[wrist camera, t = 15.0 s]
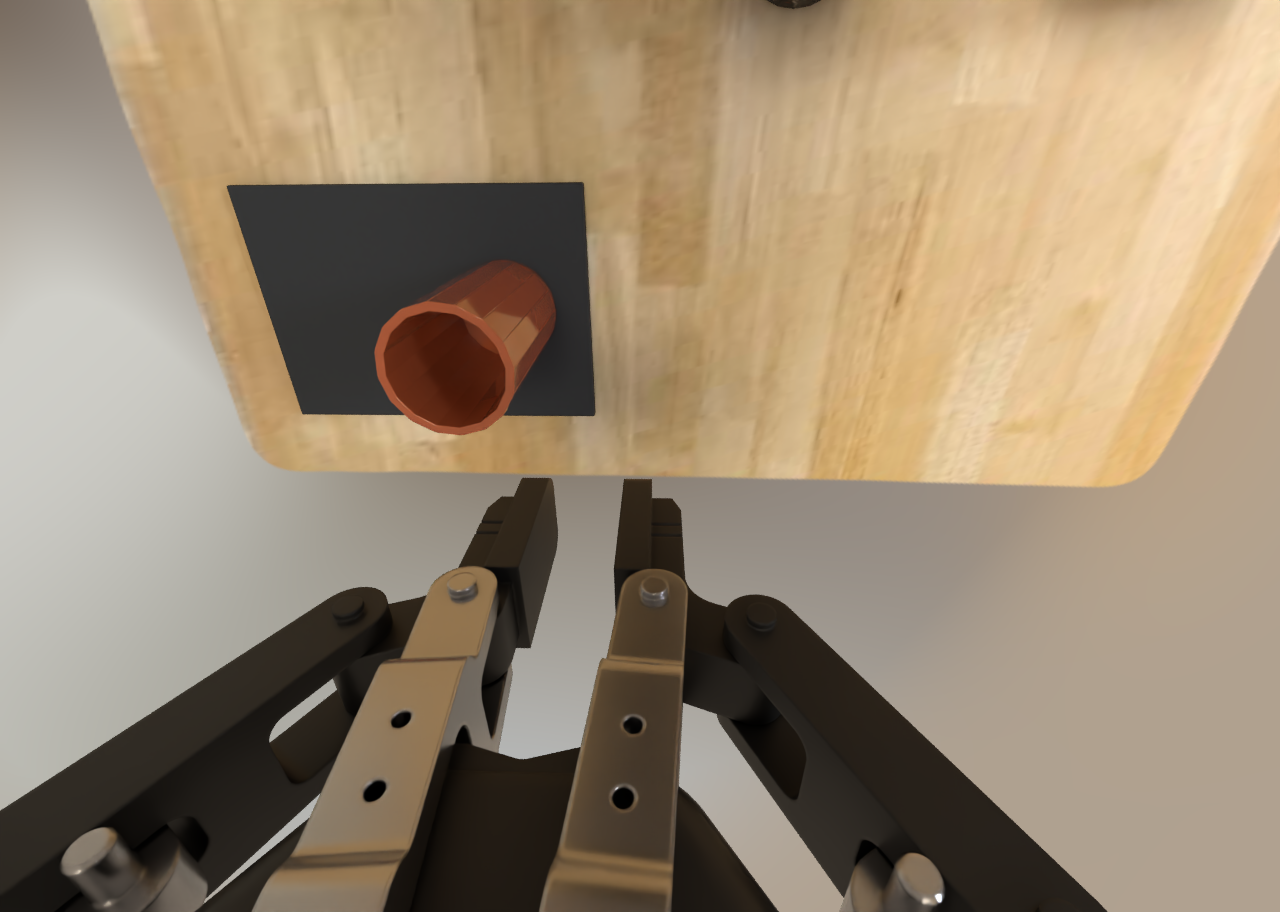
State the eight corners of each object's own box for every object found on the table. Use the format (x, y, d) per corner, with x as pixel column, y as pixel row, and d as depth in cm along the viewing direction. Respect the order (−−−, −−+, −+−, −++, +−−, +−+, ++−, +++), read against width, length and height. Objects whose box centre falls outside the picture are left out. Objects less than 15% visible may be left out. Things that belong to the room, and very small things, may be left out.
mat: (583, 182, 30) (582, 182, 30) (595, 412, 37) (594, 416, 36) (233, 185, 31) (225, 185, 30) (307, 411, 38) (302, 414, 37)
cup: (507, 237, 31) (438, 271, 22) (576, 319, 33) (542, 384, 24) (437, 302, 33) (346, 360, 24) (507, 376, 35) (450, 457, 26)
